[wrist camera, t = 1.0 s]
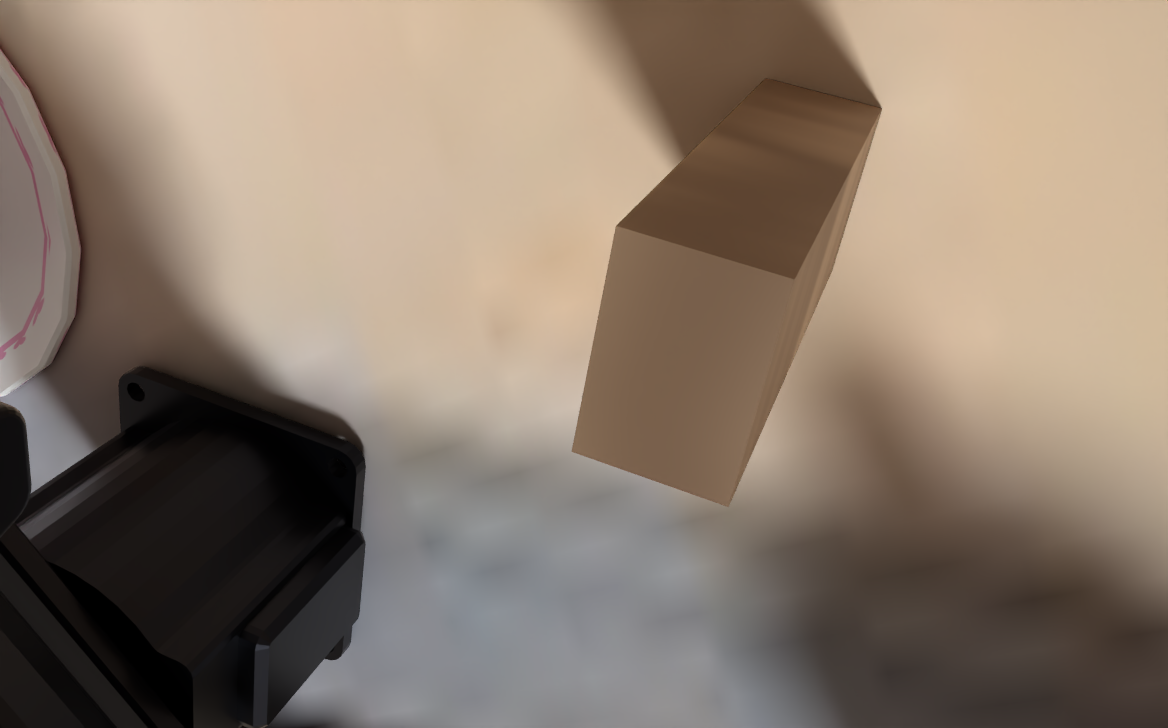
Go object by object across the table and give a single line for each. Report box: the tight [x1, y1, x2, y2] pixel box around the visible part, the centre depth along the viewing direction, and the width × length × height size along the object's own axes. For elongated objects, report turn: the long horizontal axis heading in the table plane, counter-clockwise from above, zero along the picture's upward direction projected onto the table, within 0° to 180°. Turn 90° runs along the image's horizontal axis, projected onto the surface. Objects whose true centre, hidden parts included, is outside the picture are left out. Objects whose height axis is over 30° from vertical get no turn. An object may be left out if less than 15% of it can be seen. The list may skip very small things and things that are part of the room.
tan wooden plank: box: [572, 78, 882, 507], centre depth 16 cm, size 2×3×8 cm, turn 170°
